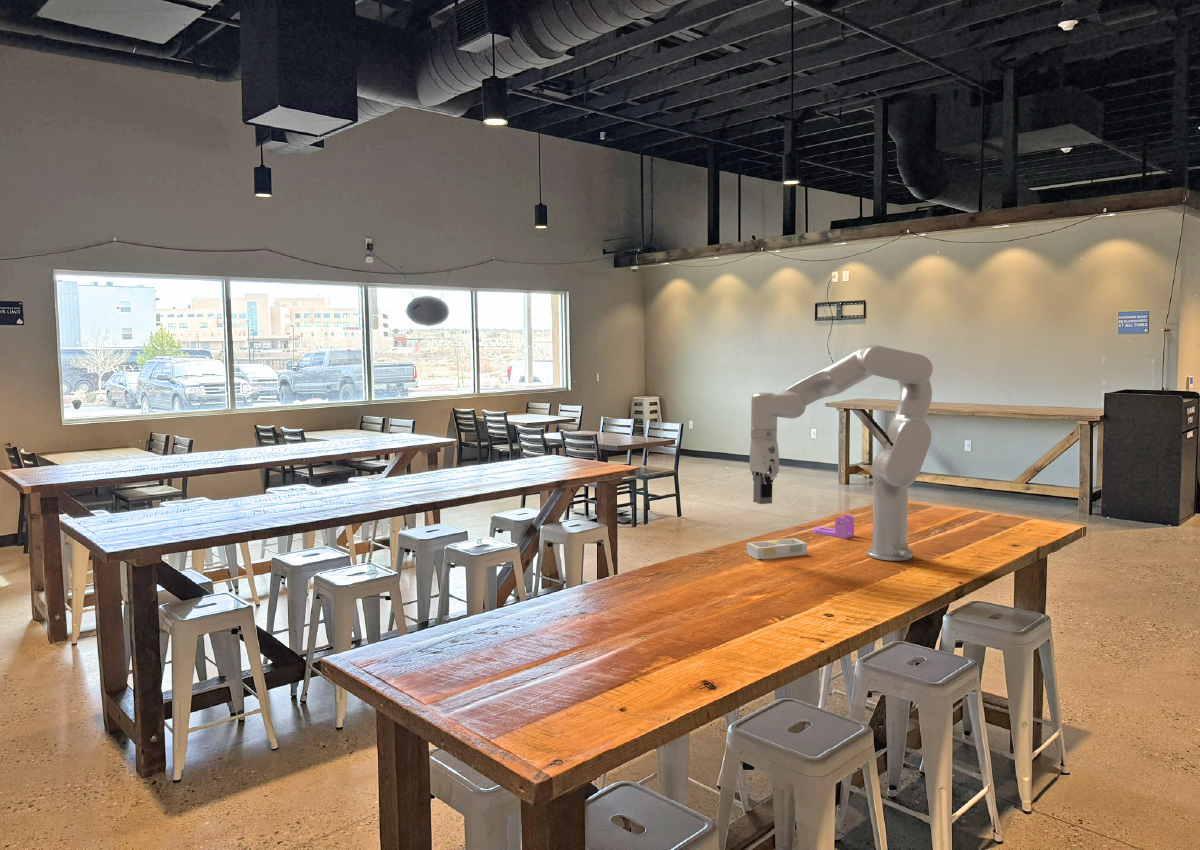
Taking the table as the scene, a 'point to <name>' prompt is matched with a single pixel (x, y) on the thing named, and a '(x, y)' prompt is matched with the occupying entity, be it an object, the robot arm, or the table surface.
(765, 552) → the socket block
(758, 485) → the plug
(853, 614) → the table surface
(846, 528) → the bracket
